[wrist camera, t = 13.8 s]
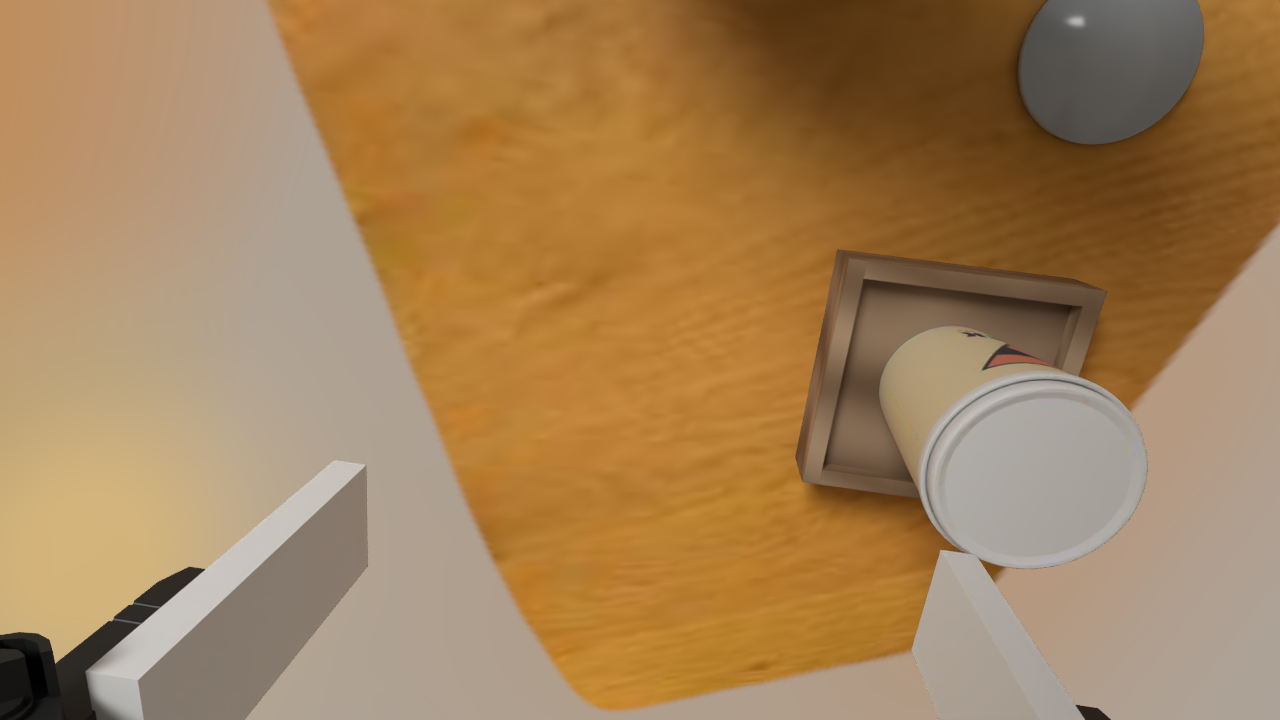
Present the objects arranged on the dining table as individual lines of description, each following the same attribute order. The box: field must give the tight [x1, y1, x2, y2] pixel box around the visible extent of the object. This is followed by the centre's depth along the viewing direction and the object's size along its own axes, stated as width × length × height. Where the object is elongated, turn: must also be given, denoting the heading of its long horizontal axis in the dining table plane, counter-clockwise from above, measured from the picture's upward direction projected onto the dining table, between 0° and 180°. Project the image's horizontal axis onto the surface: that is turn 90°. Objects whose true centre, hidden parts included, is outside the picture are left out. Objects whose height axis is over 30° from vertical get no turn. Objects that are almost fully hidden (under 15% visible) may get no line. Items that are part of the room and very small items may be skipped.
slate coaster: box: [1017, 0, 1204, 144], centre depth 36 cm, size 9×9×1 cm
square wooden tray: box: [795, 250, 1107, 499], centre depth 41 cm, size 14×14×4 cm
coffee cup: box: [879, 326, 1148, 569], centre depth 35 cm, size 9×9×12 cm
